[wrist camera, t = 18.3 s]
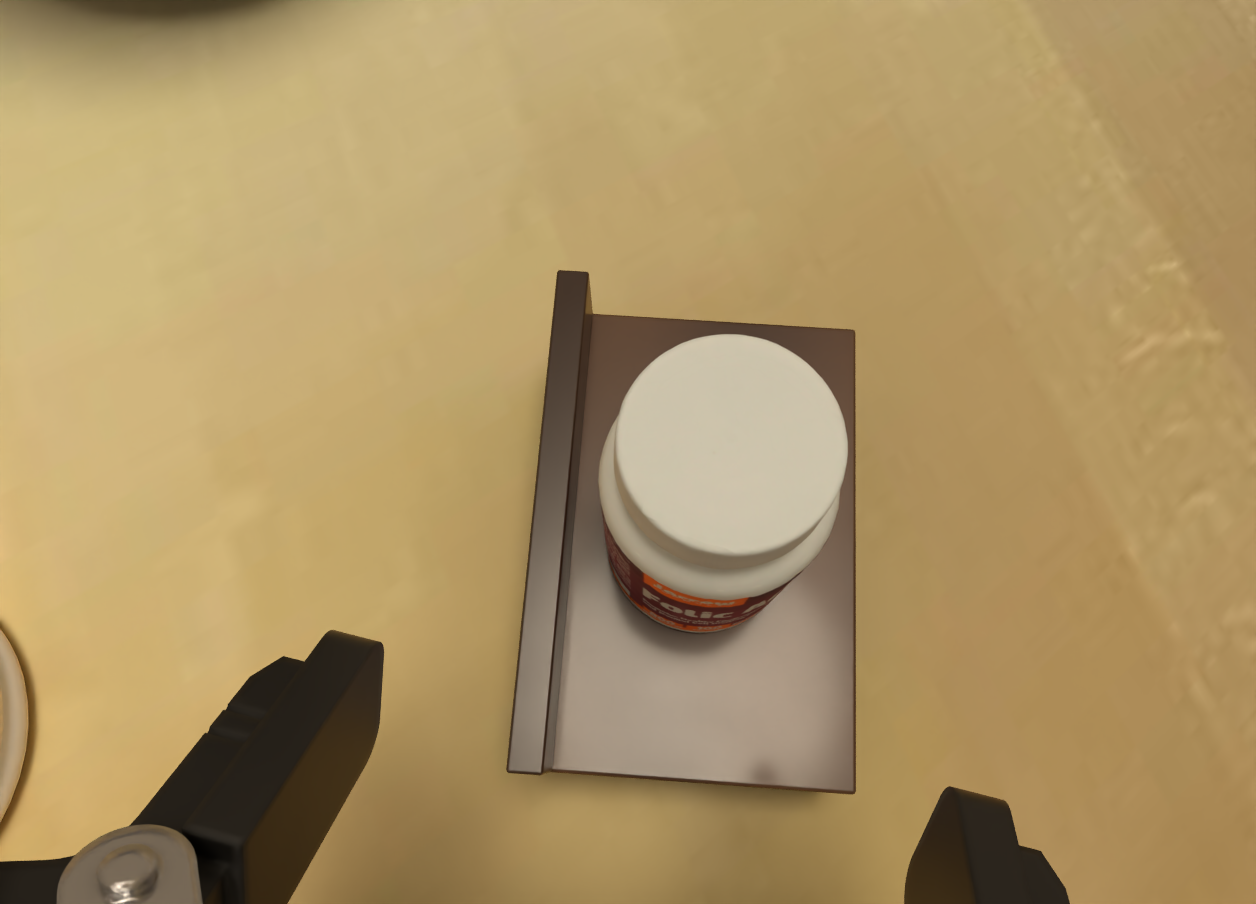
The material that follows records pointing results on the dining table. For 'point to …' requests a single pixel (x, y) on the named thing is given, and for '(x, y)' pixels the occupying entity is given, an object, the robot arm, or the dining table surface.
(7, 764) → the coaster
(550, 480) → the shelf
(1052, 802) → the dining table surface
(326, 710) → the robot arm
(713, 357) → the pill bottle
